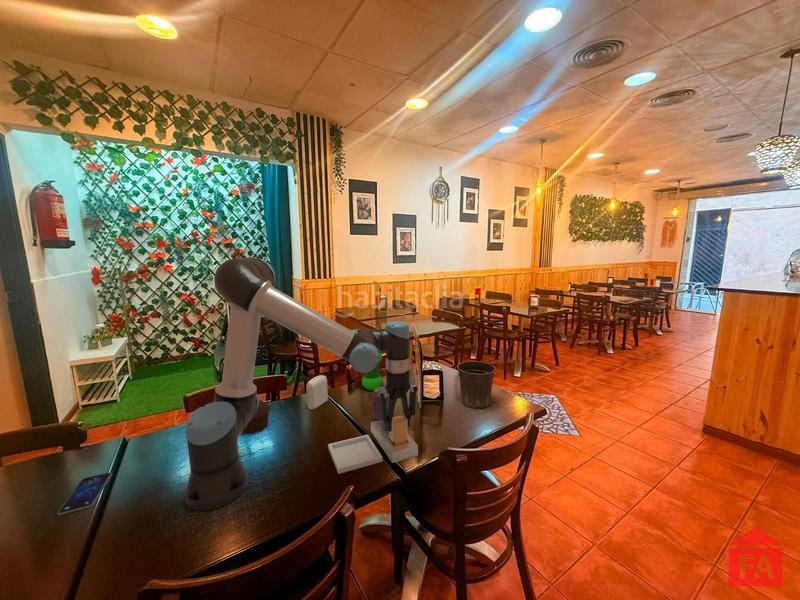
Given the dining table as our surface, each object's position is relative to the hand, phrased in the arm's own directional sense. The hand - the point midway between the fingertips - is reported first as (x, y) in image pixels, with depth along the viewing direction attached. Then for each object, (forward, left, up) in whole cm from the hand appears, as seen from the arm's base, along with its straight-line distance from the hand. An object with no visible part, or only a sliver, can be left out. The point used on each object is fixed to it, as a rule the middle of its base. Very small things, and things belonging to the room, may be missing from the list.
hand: (398, 437), depth 109 cm
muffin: (-43, +37, -5) cm, 57 cm away
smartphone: (-86, +19, -5) cm, 88 cm away
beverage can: (+3, +23, -5) cm, 23 cm away
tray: (-14, +4, -5) cm, 15 cm away
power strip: (0, +5, -5) cm, 7 cm away
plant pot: (+45, +19, -5) cm, 49 cm away
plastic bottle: (+9, +52, -5) cm, 53 cm away
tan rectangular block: (0, 0, -4) cm, 4 cm away
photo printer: (-18, +46, -5) cm, 49 cm away
